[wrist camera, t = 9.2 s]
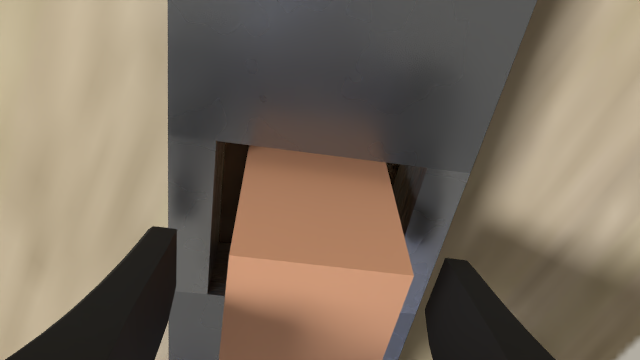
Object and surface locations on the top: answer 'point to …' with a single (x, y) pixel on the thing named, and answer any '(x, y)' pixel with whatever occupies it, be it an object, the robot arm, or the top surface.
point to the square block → (314, 260)
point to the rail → (327, 118)
